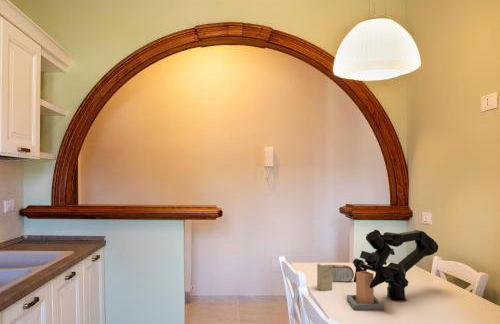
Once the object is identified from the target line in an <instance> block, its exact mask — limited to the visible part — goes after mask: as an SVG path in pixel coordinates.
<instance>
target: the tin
mask: <svg viewBox="0 0 500 324" xmlns="http://www.w3.org/2000/svg"><path fill="white" fill-rule="evenodd" d="M354 276H355V273H354V270H353V268H352V267H351V266H349V265H347V264H345V265H344V264H343V265H342V264H332V283H334V282H336V283H350V282H351V281H353V280H354Z"/></svg>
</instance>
